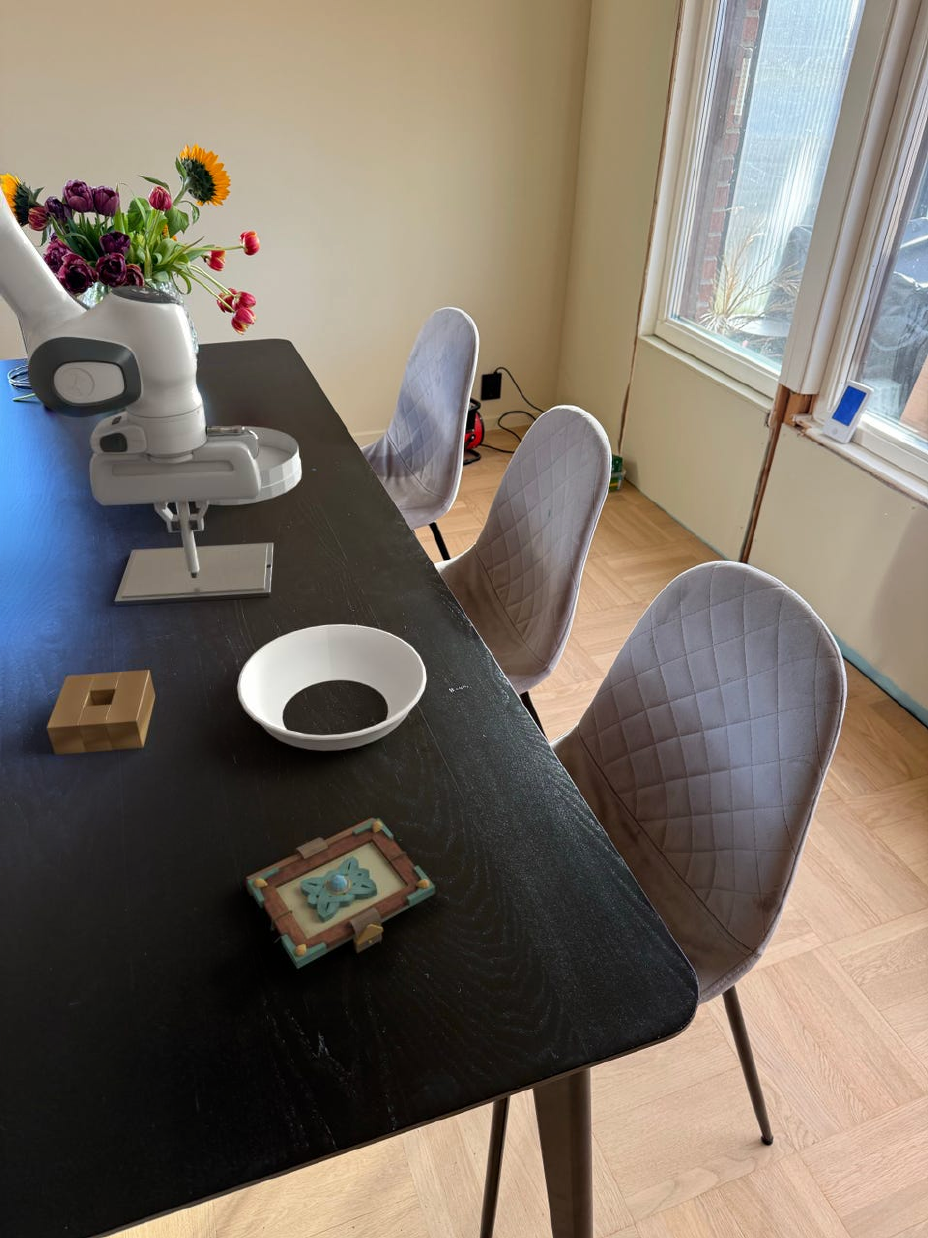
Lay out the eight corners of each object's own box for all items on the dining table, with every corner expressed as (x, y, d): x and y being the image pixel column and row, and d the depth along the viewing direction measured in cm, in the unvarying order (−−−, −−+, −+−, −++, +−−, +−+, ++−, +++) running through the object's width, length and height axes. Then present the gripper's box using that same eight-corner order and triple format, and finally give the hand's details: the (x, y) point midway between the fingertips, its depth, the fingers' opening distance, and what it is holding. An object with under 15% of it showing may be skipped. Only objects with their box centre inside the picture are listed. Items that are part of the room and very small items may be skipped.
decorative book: (190, 926, 72) (181, 886, 69) (373, 836, 80) (371, 798, 78) (256, 1054, 63) (248, 1015, 60) (453, 938, 71) (454, 899, 69)
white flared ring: (243, 797, 84) (235, 749, 81) (244, 677, 100) (237, 632, 97) (441, 772, 88) (442, 724, 84) (411, 660, 104) (411, 616, 100)
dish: (166, 510, 136) (161, 481, 133) (172, 456, 154) (167, 430, 151) (307, 499, 140) (305, 470, 138) (297, 448, 158) (294, 422, 155)
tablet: (115, 606, 112) (113, 599, 112) (133, 554, 124) (131, 548, 123) (270, 597, 115) (269, 590, 114) (273, 547, 127) (273, 541, 126)
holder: (58, 765, 87) (46, 727, 85) (76, 711, 94) (66, 675, 92) (145, 757, 88) (136, 720, 86) (157, 705, 96) (149, 669, 93)
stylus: (188, 579, 114) (173, 498, 108) (189, 574, 116) (175, 493, 109) (200, 579, 115) (186, 497, 108) (201, 573, 116) (187, 492, 109)
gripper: (257, 415, 108) (268, 514, 115) (86, 421, 105) (110, 522, 112) (254, 434, 102) (266, 536, 110) (75, 440, 99) (100, 545, 107)
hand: (186, 529), depth 111 cm, fingers closed on stylus, 1 cm apart
